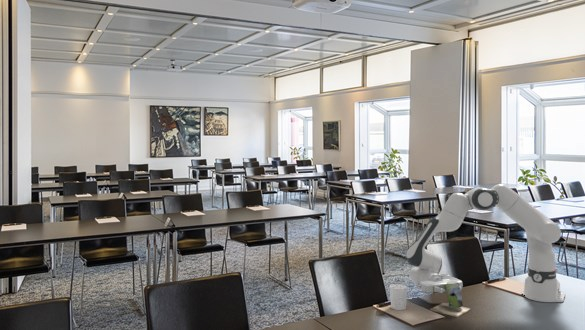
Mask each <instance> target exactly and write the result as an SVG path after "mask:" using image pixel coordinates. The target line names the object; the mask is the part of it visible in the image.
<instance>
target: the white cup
mask: <svg viewBox="0 0 585 330" xmlns="http://www.w3.org/2000/svg"><path fill="white" fill-rule="evenodd" d="M389 297H390V308H391V309H392V310H395V311H404V310H406V309H407V301H408V300H407V298H408V286H407V285H405V284H399V283H394V284H390V285H389Z"/></svg>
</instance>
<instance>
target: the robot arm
mask: <svg viewBox="0 0 585 330" xmlns="http://www.w3.org/2000/svg"><path fill="white" fill-rule="evenodd" d="M494 207H497V208H498V209H500V210H501V211H502V213H504V214H505V215H506V216H507V217H509V219H511V220H512V221H513V222H514V223H515V224H517V225H519V226H520V227H521V228H522V229H524V231H525V234H526V242H527V246H528V264H529V265H528V268H527V275H528V276H527V277H526V278H525V279H524V284H523V285H524V288H523V291H521V292H520V294H521V293H522V294H523V295H522V296H524V295H525V296H524V297H525V298H527V299H529V300H531V301H535V302H541V303H563V302H564V301H565V298H564V297H566V293H565V292H563V291H561V283H560V282H559V280H558V279H557V273H558V271H557V268H555V267H556V266H555V263H556V262H555V256H556V255H555V251H554V247H553V245H552V244H555V243H556V242H558V241H559V240H560V239H561V236H562V231H561V228H560V226H558V224H557V223H556V222H554V221H553V220H552V219H550V218H549V217H548V216H546V215H545V214H544V213H543V212H541V211H540V210H538V209H537V208H536V207H534V206H533V205H532V204H530V202H528V201H527V200H526V199H525V198H523V197H522V196H521V195H520V194H518V193H517V192H516V191H515V190H514V189H512V188H510V187H509V186H507V185H505V184H504V183H498V184H495V185H493V186H492V187H491V188H485V187H471V188H470V189H468V190H467V191H465V192H464V193H462V192H454V193H452V194H451V195H450V196H449V197H448V199H447V200H446V202H445V203H444V205H443V207H442V209H441V211H440V212H439V213H438V215H436V216H435V217H432V218H431V219H430V220H429V221H428V222H427V223H426V225H425V226H424V227H423V229H422V230H421V232H420V233H419V235H418V236H417V238H416V239H415V240H414V242H413V243H412V244H411V245H410V246H409V248H407V250H406V252H405V258H406V261H407V264H409V266H412V267H413V266H414V267H413V268H411V269H410V271H409V279H410V281H412V283H414V284H415V285H416V287H417V288H419V289H420V291H422V292H423V293H425V294H433V293H440V294H445V292H447V290H446V284H447V282H449V281H457V282H458V283H459V285H460V291H461V292H462V289H463V286H464V285H463V281H462V280H461V279H458V278H456V277H454V276H451V275H450V274H449V273H447V274H446V273H440V272H441V270H442V267H443V260H442V257H441V255H440V254H438V253H435V252H433V251H431V250H428V249H426V246H427V245H428V243H429V242H430V240H431V239H432V238H433V236H434V235H435V234H437V233H441V232H454V231H456V230H458V229H459V228H460V227H461V225H462V224H463V222H464V219H465V217H466V215H467V213H468V212H469V211H470V210H471V209H473V210H476V211H487V210H489V209H491V208H494Z"/></svg>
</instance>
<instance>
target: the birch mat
mask: <svg viewBox="0 0 585 330" xmlns="http://www.w3.org/2000/svg"><path fill="white" fill-rule="evenodd" d="M471 309H472V308H469V307H464V306H462V307H461V308H458V309H453V308H451V307H449V303H447V302H442V303H440V304H438V305H435V306H434V307H431V308H430V309H429V310H430V311H432V312H435V313H439V314H444V315H447V316H451V317H455V318H459V317H461V316H463V315H464V314H466V313H468V312H470V311H472V310H471Z"/></svg>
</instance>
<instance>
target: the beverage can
mask: <svg viewBox="0 0 585 330" xmlns="http://www.w3.org/2000/svg"><path fill="white" fill-rule="evenodd" d="M446 290H447V291H446V295H447V296H446V297H447V301H448V304H449V307H451V308H453V309H458V308H461V307H464V304H463V298H462V293H461V292H462V290H461V291H460V285H459V283H458V282H457V281H449V282H447V284H446Z"/></svg>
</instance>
